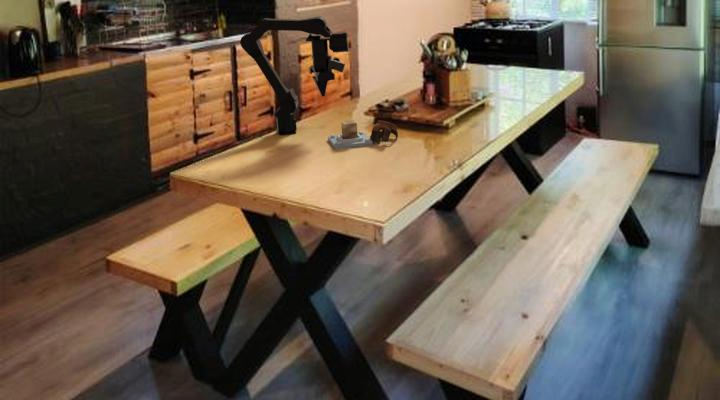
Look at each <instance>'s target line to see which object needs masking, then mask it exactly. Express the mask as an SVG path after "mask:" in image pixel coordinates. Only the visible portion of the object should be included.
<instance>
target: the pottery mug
mask: <svg viewBox="0 0 720 400" xmlns="http://www.w3.org/2000/svg"><path fill="white" fill-rule="evenodd" d="M398 128H399V127H398V126H397V125H396V124H394V123H392V122H389V121H386V120H380V119H379V120H377V123H376V124H374V125H373V126H372V129H371V135H370V136H369V139H370V140H371V141H372V142H373V144H377V145H380V144H381V141H382V143H386V142H389V140H390V137H391V134H392V135H394V136H395V138H394V139H395V140H398V137H399V134H398V133H399V132H398Z"/></svg>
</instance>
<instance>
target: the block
mask: <svg viewBox="0 0 720 400" xmlns="http://www.w3.org/2000/svg"><path fill="white" fill-rule="evenodd" d="M340 124H341V134H342V139H352V138H358V134H357V133H358V123H357V121H355V120H354V119H353V120H343V121H342V120H341V122H340Z"/></svg>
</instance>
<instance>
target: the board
mask: <svg viewBox="0 0 720 400" xmlns="http://www.w3.org/2000/svg"><path fill="white" fill-rule="evenodd" d="M357 134H358V138H352V139H342V133H341V134H337V135H336V134H334V133H333V134H330V136H327V140H328V142H329V143H330V144H331V146H332V147H333V148H334V149H335V150H342V149H351V148H359V147H360V148H361V147H369V146H374V143H373V142H372V141H371V140H370V137H369V136H368V135H366V133H365V132H363V131H357Z"/></svg>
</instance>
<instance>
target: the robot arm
mask: <svg viewBox="0 0 720 400" xmlns="http://www.w3.org/2000/svg"><path fill="white" fill-rule="evenodd" d="M327 23H328V22H327V20H326V19H325V18H324V17H322V16H313V17H307V18H301V19H295V18H294V19H292V18H291V19H290V18H269V17H265V18H263V19H262V20H261V21H260V22H259V24H257V26H255V28H253V30H251V31H250V32H247V33H245V34H244V35H242V36H241V38H240V42H239V44H240V46H241V48H242V49H243V50H244V51H245V52H246V54H247V55H248V56H249V57H251V58H252V59H253V60H254V62H255V63H256V64H257V66H258V68H259V70H260V71H261V73H262V74H263V75H264V77H265V78H266V80H267V82H268V83H269V85H270V87H271V89H272V90H273V91H274V93H275V96H276V99H277V102H278V105H279V107H278V109H277V110H276V112H275V113H274V115H275V117H276V118H275V120H276V132H277V134H278V136H283V135H291V134H297V129H298V128H297V119H296V118H295V115H294V114H293V113H294V112H295V111H296V109H297V108H298V106H299V100H298V98H299V96H298V95H297V94H296V92H295V90H294V89H293V87H292V88H290V89H289V88H287V86H285V84H284V82H283V81H282V79H281V77H280V76H279V74H278V72H277V71H276V70H275V68H274V67H273V64H272V63H271V62H270V60H269V58H268V57H267V55H266V54H265V51H264V47H263V44H262V42H261V38H262V37H263V36H264V35H265V34H266V33H267V32H268V31H284V32H285V31H288V32H289V31H292V32H294V31H295V32H296V31H297V32H303V33H306V34H309V35H308V37H307V38H306V39H305V42H311V53H312V54H311V56H310V57H311V60H312V65H310V66H309V68H308V73H309V74H310V75H312V74H314V76H311V77H312V79H313V82H314V83H315V85H316V87H317V89H318V91H319V94H320V95H321V97H325V96H326V91H327V86H328V82H329V81H335V80H336V76H335V75H336V74H335V73H334V72H333V71H332V70H335V71H338V72H339V73H343V72H344V69H345V66H346V63H344V61H343V62H342V61H340V58H339V57H336V56H334V57H333V58H331V56H330V55H329V50H330V51H332V53H348V52H349V51H350V49H349V47H350V46H349V39H348V32H346V31H345V32H335V33H334V32H333V31H332V30H331V29H330V28H329V27H328V24H327Z"/></svg>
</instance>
